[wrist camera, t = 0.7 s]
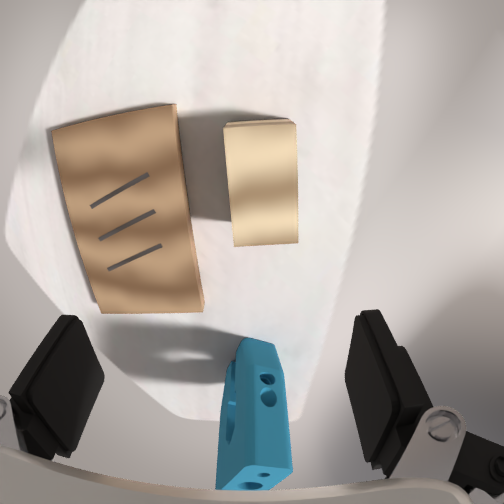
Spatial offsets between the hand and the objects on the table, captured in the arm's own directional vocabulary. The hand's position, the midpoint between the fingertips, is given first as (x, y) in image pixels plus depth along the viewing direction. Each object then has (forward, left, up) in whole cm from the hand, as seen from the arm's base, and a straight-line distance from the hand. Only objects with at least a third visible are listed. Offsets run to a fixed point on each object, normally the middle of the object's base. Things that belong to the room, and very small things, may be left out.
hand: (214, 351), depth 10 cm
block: (+28, -1, -26) cm, 38 cm away
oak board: (+5, -13, -26) cm, 29 cm away
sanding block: (+1, +2, -26) cm, 26 cm away
